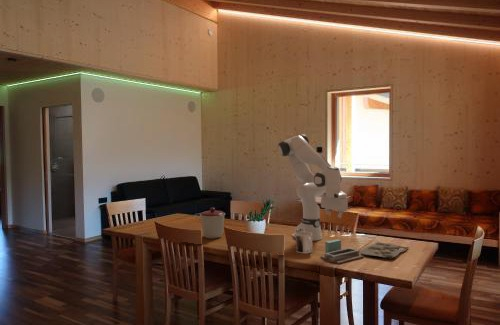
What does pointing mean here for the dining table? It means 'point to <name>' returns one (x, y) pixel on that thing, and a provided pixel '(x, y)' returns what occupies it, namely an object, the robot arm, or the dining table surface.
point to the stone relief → (383, 250)
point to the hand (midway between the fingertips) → (334, 216)
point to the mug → (304, 242)
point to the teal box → (332, 245)
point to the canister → (212, 223)
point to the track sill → (342, 255)
